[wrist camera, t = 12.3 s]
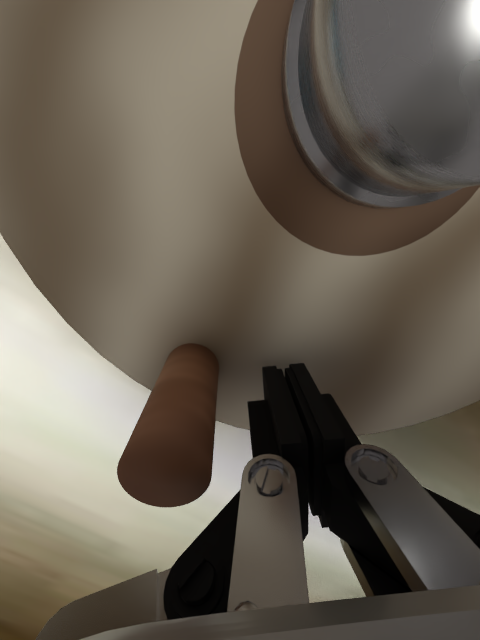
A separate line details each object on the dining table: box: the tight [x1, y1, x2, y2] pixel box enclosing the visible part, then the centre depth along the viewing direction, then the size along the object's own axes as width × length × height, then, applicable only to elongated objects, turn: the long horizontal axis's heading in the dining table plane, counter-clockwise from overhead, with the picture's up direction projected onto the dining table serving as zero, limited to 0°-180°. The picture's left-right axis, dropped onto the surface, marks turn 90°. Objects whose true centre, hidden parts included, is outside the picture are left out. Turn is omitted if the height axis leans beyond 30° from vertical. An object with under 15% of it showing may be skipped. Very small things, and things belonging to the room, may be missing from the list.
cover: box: [281, 0, 480, 209], centre depth 6 cm, size 8×8×4 cm
